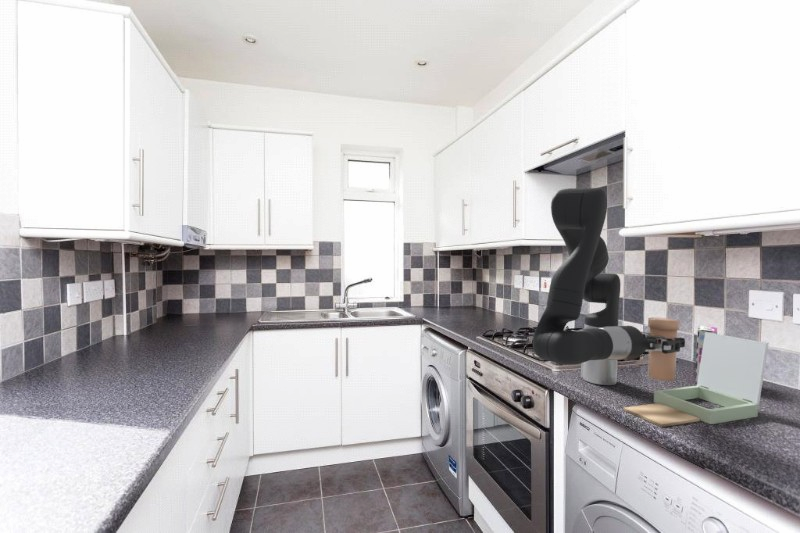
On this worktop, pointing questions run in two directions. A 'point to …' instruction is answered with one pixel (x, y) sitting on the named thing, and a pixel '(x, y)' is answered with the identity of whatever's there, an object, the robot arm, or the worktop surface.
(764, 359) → the frame lid
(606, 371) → the robot arm
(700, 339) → the candy bar box
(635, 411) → the mat
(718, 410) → the frame
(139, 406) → the worktop surface
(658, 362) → the tan capped bottle
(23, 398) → the worktop surface
